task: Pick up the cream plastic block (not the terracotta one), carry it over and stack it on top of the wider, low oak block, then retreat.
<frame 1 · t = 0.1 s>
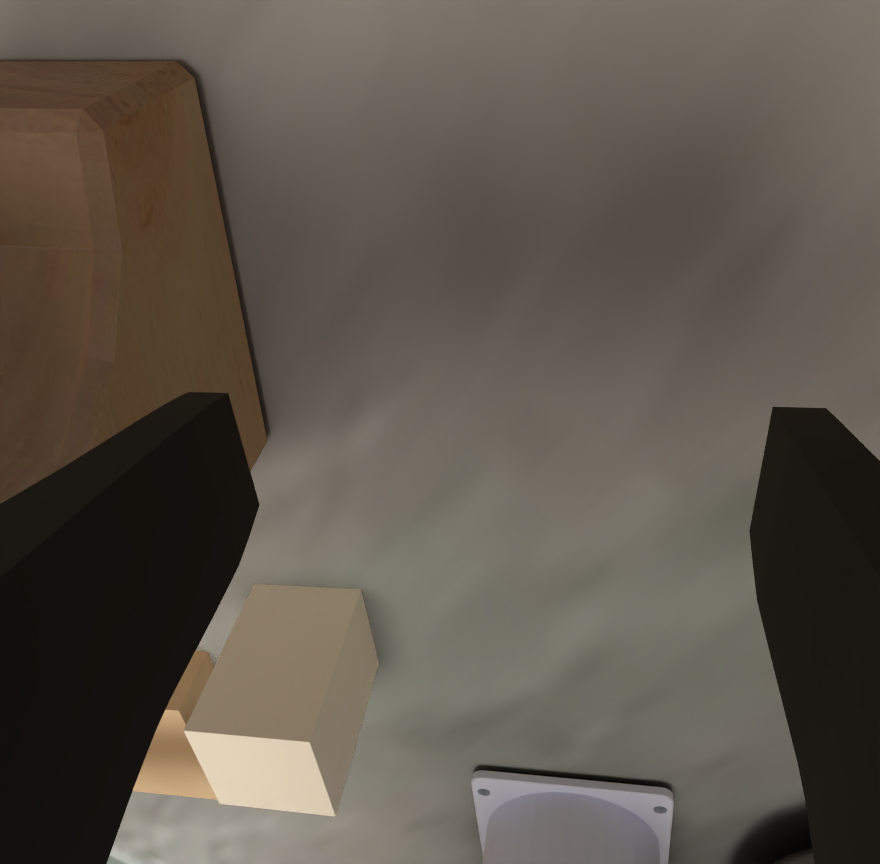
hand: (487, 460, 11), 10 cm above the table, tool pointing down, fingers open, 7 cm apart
decorative block: (149, 272, 22), on the table
oak block: (165, 688, 34), on the table
cream cube: (318, 624, 30), on the table
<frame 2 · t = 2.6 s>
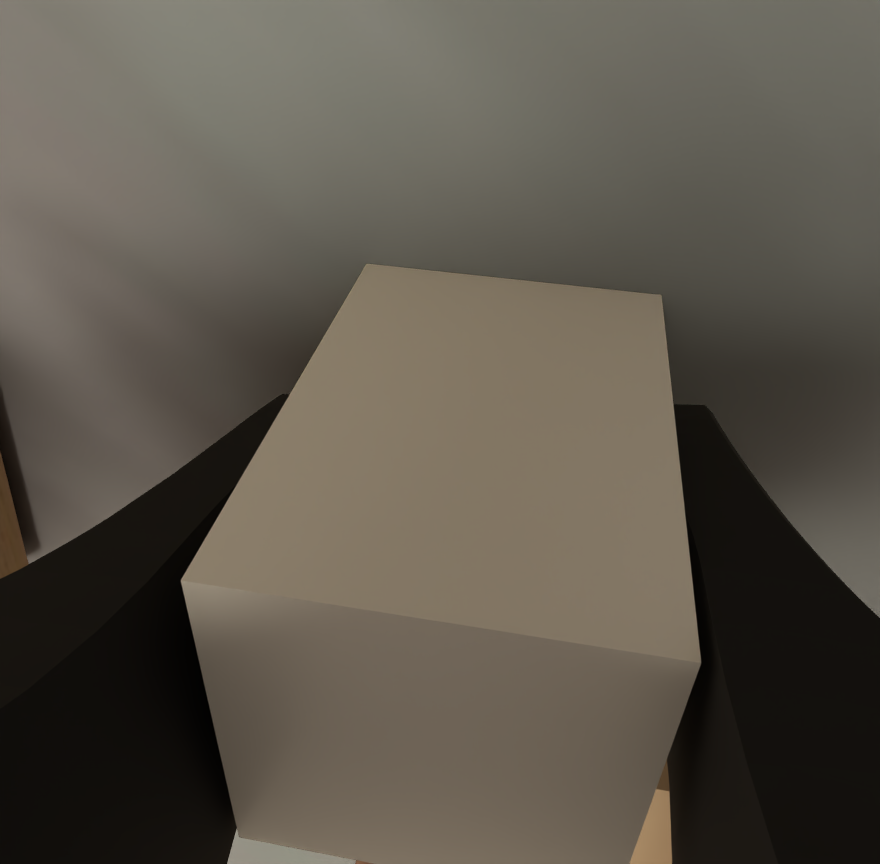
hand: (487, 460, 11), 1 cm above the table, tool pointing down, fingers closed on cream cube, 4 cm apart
oak block: (712, 747, 16), on the table
cream cube: (499, 401, 12), on the table, touching gripper
when the fingers open (6 cm above the table, at t = 8.7 s): cream cube drops 1 cm, point 3 cm above the table.
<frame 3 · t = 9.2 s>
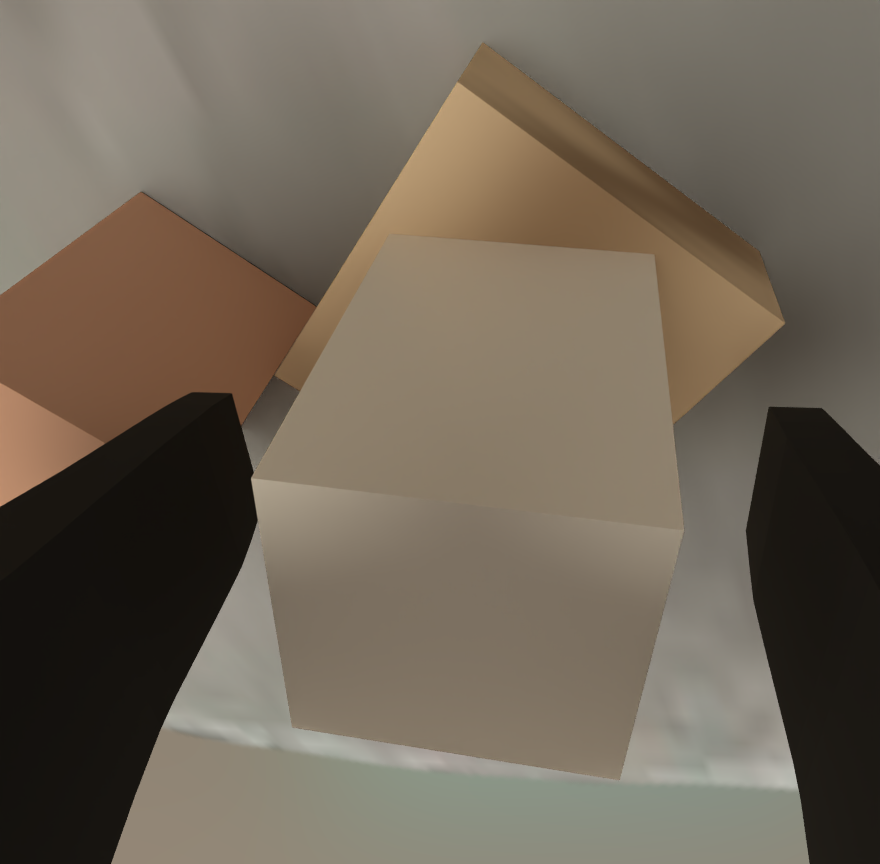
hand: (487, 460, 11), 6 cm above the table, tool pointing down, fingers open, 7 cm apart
oak block: (524, 274, 16), on the table
terracotta cube: (194, 320, 17), on the table, touching gripper
cream cube: (510, 358, 13), point 3 cm above the table
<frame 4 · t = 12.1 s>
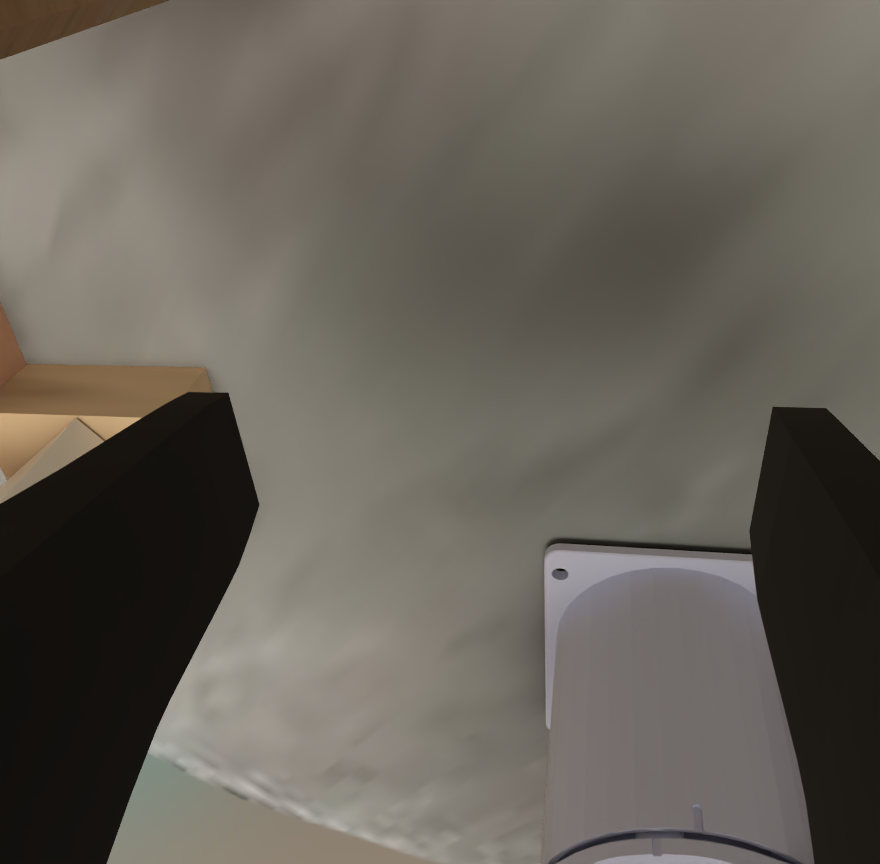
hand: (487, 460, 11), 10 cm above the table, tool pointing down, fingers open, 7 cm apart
oak block: (147, 439, 27), on the table
cream cube: (96, 494, 24), point 3 cm above the table
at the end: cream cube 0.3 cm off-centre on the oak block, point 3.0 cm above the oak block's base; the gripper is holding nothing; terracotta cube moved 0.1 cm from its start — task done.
